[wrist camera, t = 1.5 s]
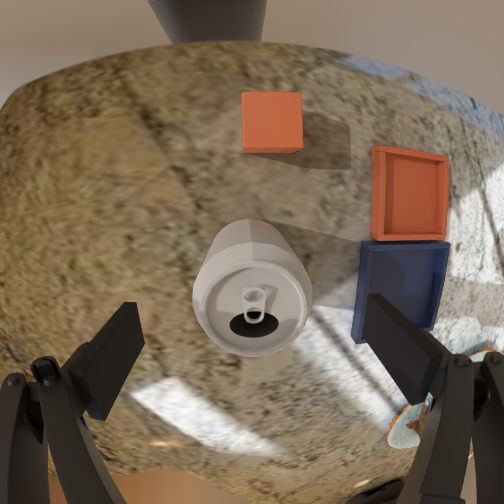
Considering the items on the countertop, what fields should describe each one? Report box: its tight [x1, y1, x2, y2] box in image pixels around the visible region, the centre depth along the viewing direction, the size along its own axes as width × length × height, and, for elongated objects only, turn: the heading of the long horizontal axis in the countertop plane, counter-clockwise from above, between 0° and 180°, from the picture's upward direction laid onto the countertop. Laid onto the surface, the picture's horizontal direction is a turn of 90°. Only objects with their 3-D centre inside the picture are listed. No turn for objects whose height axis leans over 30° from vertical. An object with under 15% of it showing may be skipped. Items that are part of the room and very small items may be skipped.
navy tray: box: [351, 240, 450, 344], centre depth 27 cm, size 11×11×2 cm
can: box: [192, 218, 313, 357], centre depth 21 cm, size 8×8×12 cm
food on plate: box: [386, 347, 496, 449], centre depth 32 cm, size 25×25×7 cm
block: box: [242, 92, 304, 153], centre depth 21 cm, size 5×5×5 cm
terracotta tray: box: [370, 145, 449, 241], centre depth 25 cm, size 9×9×2 cm
